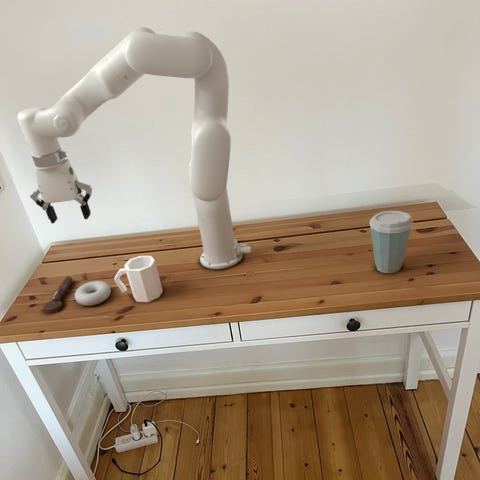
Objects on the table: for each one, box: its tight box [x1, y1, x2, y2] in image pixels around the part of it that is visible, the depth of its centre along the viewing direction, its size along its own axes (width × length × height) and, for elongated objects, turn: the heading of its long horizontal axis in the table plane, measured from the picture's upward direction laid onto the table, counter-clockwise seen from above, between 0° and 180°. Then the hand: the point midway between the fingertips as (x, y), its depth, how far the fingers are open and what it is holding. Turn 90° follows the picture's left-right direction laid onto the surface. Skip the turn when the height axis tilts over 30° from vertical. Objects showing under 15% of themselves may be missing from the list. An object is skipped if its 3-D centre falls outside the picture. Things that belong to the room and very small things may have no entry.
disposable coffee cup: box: [369, 210, 414, 274], centre depth 139 cm, size 11×11×15 cm
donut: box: [74, 280, 112, 307], centre depth 150 cm, size 10×3×10 cm
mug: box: [113, 255, 163, 303], centre depth 146 cm, size 12×9×10 cm
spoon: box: [43, 276, 74, 314], centre depth 153 cm, size 16×5×2 cm, turn 175°
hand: (71, 219), depth 148 cm, fingers open, 9 cm apart
